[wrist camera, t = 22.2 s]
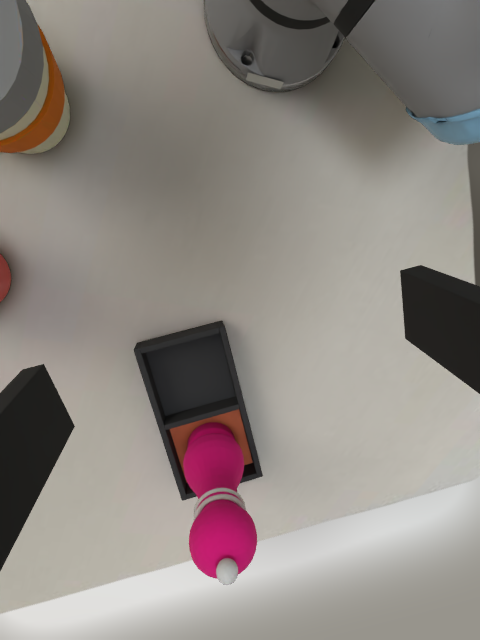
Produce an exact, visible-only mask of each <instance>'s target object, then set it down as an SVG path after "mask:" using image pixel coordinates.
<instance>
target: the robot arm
mask: <svg viewBox="0 0 480 640" xmlns="http://www.w3.org/2000/svg"><path fill="white" fill-rule="evenodd" d="M204 12H205V20H206V26H207V30H208V33H209V36H210V39H211V42H212V44H213V46H214V48H215V50H216V52H217V54H218V55H219V57H220V58H221V60H222V61H223V63H224V64H225V65H226V66H227V68H228V69H229V70H230V71H231V72H232V73H233V74H235V75H236V76H237V77H238V78H239V79H241V80H242V81H244V82H246V83H247V84H249V85H251V86H253V87H256V88H259V89H262V90H266V91H274V92H282V91H290V90H294V89H297V88H299V87H302V86H304V85H306V84H308V83H309V82H311V81H312V80H314V79H315V78H316V77H317V76H319V75H320V74H321V73H322V72H323V71H324V69H325V68H326V67H327V66H328V64H329V63H330V62H331V61H332V59H333V58H334V57H335V55H336V54H337V52H338V50H339V48H340V47H341V45H342V42H343V40H344V38H346V37H347V38H346V39H347V41H348V42H349V43H350V44H351V45H352V46H353V47H354V48H355V50H356V51H357V52H358V53H359V54H360V55H361V56H362V57H363V59H364V60H365V61H366V62H367V63H368V64H369V65H370V66H371V68H372V69H373V70H374V71H375V72H376V73H377V74H378V75H379V77H380V78H381V79H382V80H383V81H384V82H385V83H386V85H387V86H388V87H389V88H390V89H391V90H392V91H393V92H394V94H395V95H396V96H397V97H398V98H399V99H400V100H401V101H402V103H403V104H404V105H405V106H406V111H407V113H408V114H409V115H410V117H411V118H413V119H415V120H417V121H419V122H421V123H422V124H423V125H424V126H425V127H426V128H427V129H428V130H429V131H430V132H431V133H432V134H433V135H434V137H436V138H437V139H438V140H440V141H442V142H447V143H449V144H454V145H464V144H472V143H477V142H480V0H204ZM359 20H360V21H359ZM356 24H357V25H356ZM400 273H401V286H402V299H403V313H404V326H405V339H407V340H408V341H409V342H411V343H412V344H413V345H415V346H416V347H417V348H419V349H420V350H422V351H423V352H424V353H426V354H427V355H428V356H430V357H431V358H432V359H434V360H435V361H436V362H438V363H439V364H440V365H442V366H443V367H444V368H446V369H447V370H448V371H450V372H451V373H452V374H454V375H455V376H456V377H458V378H459V379H460V380H462V381H463V382H464V383H466V384H467V385H469V386H470V387H471V388H473V389H474V390H475V391H477V392H478V393H479V394H480V287H479V286H477V285H474V284H471V283H468V282H466V281H463V280H460V279H457V278H455V277H452V276H449V275H446V274H444V273H441V272H438V271H435V270H433V269H430V268H427V267H424V266H422V265H420V266H416V267H412V268H408V269H405V270H401V271H400ZM74 427H75V426H74V424H73V422H72V420H71V418H70V416H69V414H68V412H67V410H66V408H65V406H64V404H63V402H62V400H61V398H60V396H59V394H58V392H57V390H56V388H55V386H54V384H53V382H52V380H51V378H50V376H49V374H48V372H47V370H46V368H45V366H44V364H42V365H38V366H35V367H31V368H27V369H23V370H22V371H21V372H20V373H19V374H18V375H17V376H16V377H15V378H14V379H13V380H12V381H11V382H10V383H9V384H8V385H7V387H6V388H5V389H4V390H3V391H2V392H1V393H0V571H1V569H2V567H3V565H4V563H5V561H6V559H7V557H8V555H9V553H10V551H11V549H12V547H13V545H14V543H15V541H16V539H17V538H18V536H19V534H20V532H21V530H22V528H23V526H24V524H25V522H26V520H27V518H28V516H29V514H30V512H31V510H32V508H33V506H34V504H35V502H36V501H37V499H38V497H39V495H40V493H41V491H42V489H43V487H44V485H45V483H46V481H47V479H48V477H49V475H50V473H51V471H52V469H53V467H54V465H55V464H56V462H57V460H58V458H59V456H60V454H61V452H62V450H63V448H64V446H65V444H66V442H67V440H68V438H69V436H70V434H71V432H72V430H73V428H74Z"/></svg>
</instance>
